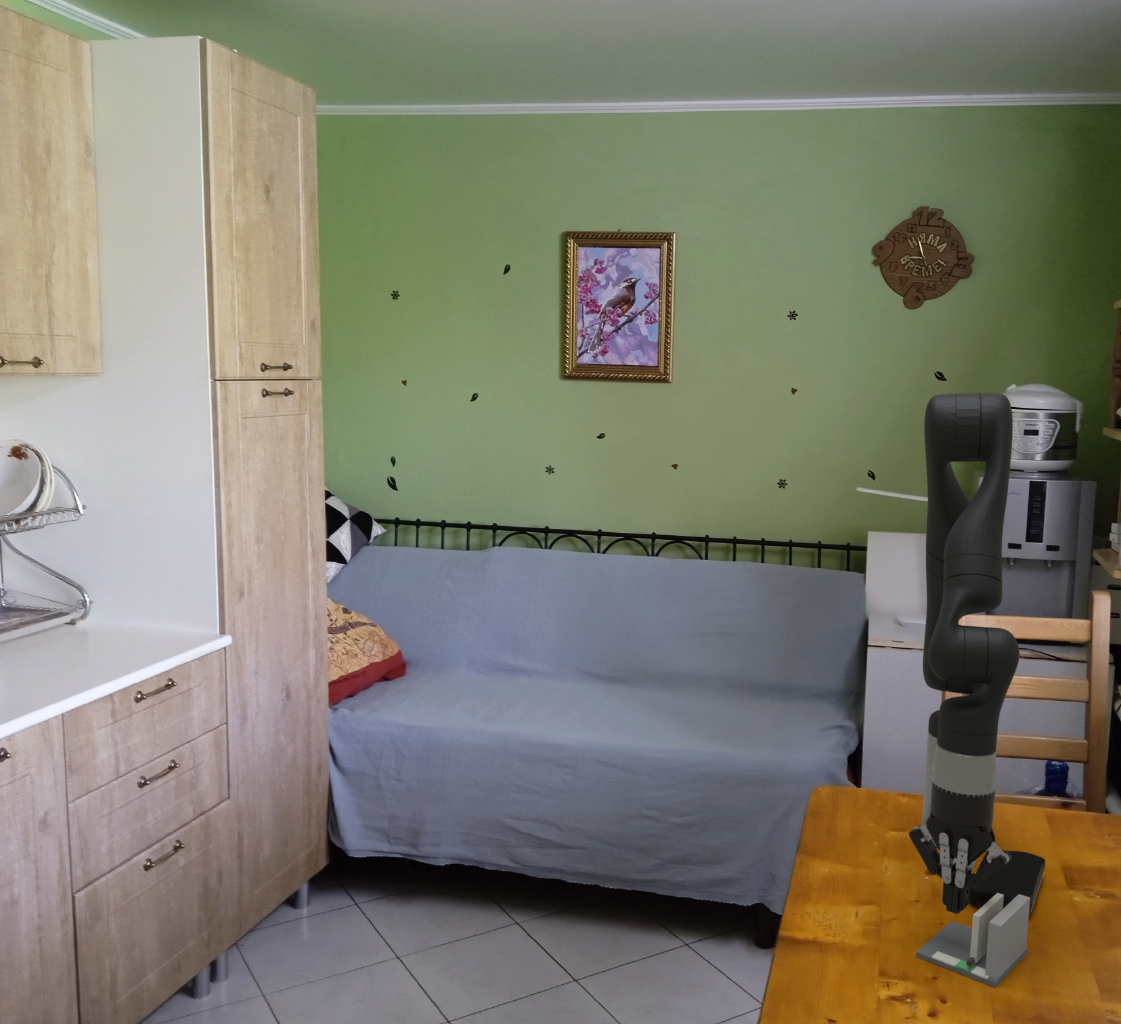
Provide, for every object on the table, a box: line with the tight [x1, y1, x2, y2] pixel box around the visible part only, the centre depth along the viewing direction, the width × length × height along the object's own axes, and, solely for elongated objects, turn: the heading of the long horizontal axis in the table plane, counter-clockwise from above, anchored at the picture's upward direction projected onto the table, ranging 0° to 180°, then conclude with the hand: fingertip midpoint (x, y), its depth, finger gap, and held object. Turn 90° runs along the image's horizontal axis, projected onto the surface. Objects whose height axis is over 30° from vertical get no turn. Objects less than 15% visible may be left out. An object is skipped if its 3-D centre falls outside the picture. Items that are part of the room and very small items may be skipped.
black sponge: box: [968, 849, 1046, 915], centre depth 157 cm, size 16×8×4 cm, turn 149°
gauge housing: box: [915, 894, 1030, 988], centre depth 139 cm, size 11×10×8 cm
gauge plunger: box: [966, 893, 1004, 967], centre depth 138 cm, size 9×1×6 cm, turn 138°
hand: (954, 910), depth 141 cm, fingers closed
